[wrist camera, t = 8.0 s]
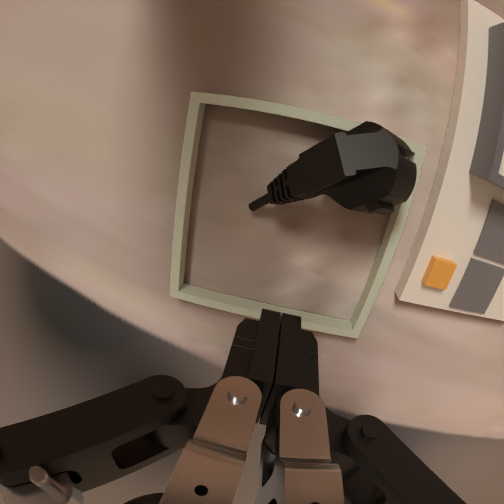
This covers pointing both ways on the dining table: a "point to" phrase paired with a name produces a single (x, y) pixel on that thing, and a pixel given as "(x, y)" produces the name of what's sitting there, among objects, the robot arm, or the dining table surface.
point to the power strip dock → (467, 185)
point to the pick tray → (251, 306)
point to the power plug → (349, 172)
